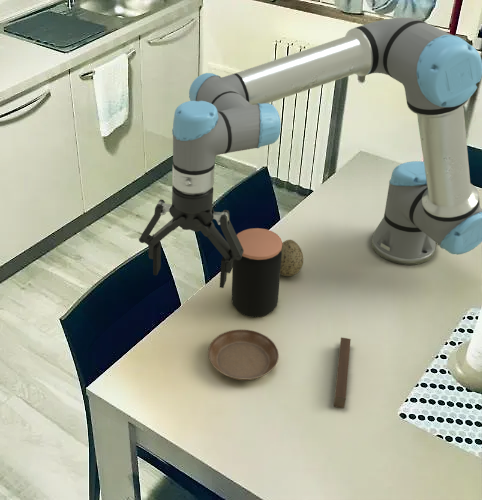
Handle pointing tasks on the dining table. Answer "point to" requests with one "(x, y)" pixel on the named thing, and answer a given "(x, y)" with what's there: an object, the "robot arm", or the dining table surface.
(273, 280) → the coffee jar
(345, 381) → the walnut batten
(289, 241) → the decorative egg
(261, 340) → the saucer
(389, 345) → the dining table surface
